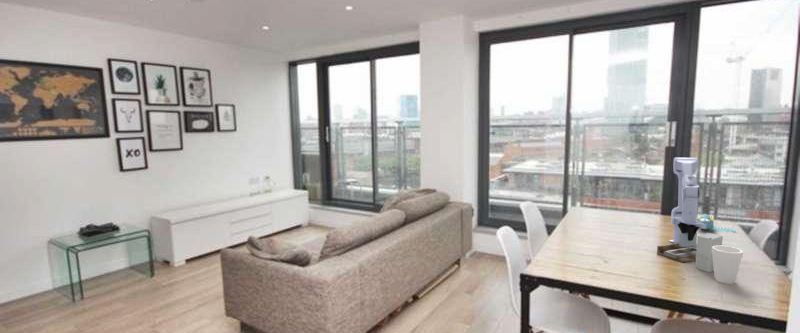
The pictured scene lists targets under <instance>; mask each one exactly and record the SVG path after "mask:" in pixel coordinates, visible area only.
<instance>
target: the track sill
mask: <svg viewBox="0 0 800 333" xmlns="http://www.w3.org/2000/svg"><path fill="white" fill-rule="evenodd" d="M656 249H657V250H656V254H657V255H660V256H663V257H666V258H669V259H672V260H674V261H676V262H680V263H683V264H684V263H689V262H690V263H691V262H696V251H697V247H693V246H688V247H681V246H679V243H673V242H672V243H668V244H662V245H657V248H656Z"/></svg>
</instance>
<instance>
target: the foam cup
mask: <svg viewBox="0 0 800 333" xmlns="http://www.w3.org/2000/svg"><path fill="white" fill-rule="evenodd" d="M743 254H744V251H743V250H742V249H740V248H737V247H733V246H730V245H723V244H722V245H716V246H713V247H712V256H713V266H714V271H713V275H714V280H715V281H717V282H718V283H722V284H726V285H727V284H729V285H733V284H736V281H737V276H738V274H739V269H740V265H741V262H742V261H741V260H742V258H743Z"/></svg>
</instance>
